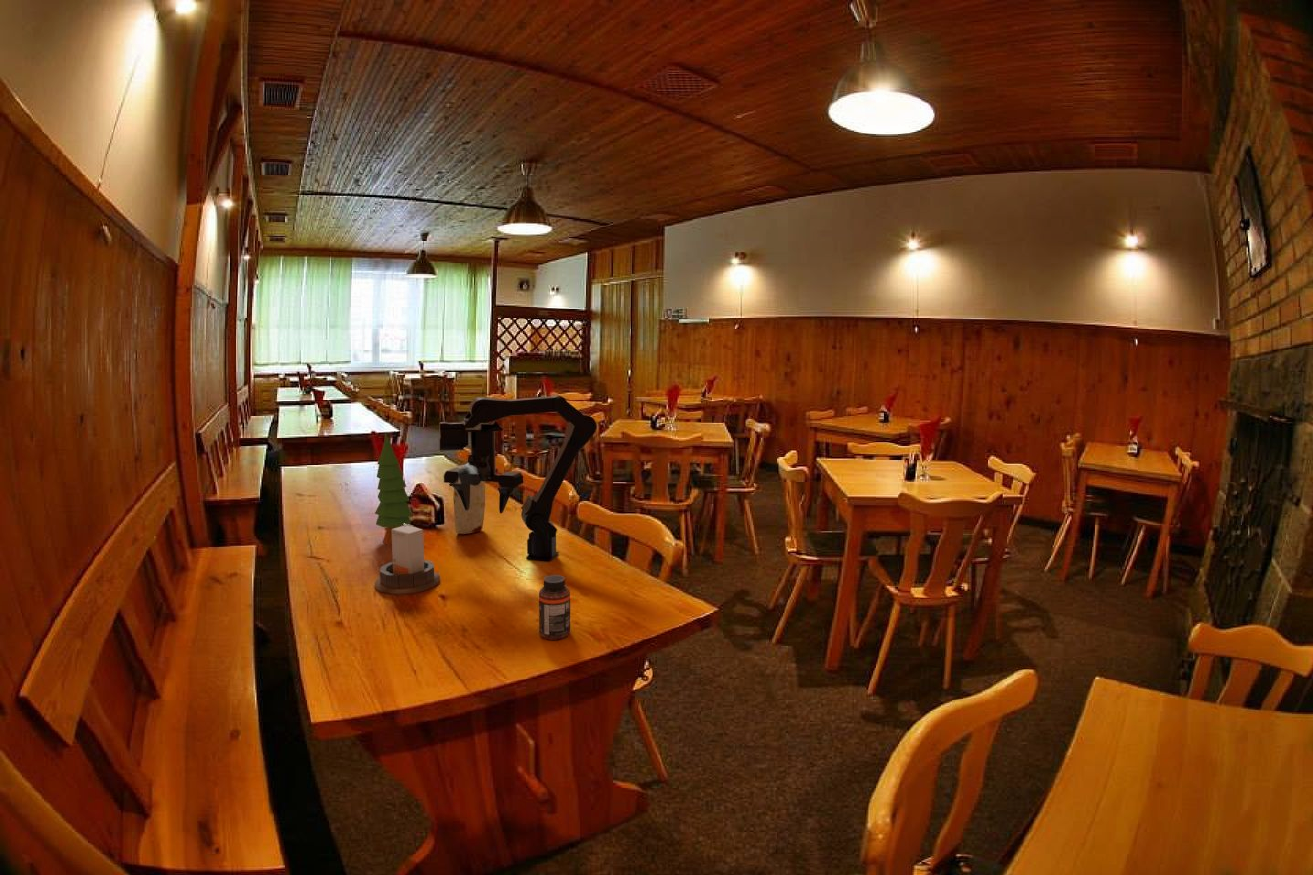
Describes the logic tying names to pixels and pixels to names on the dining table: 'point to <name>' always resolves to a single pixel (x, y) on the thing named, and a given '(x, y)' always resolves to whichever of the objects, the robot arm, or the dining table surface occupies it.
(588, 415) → the robot arm
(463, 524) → the food model
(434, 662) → the dining table surface
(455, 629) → the dining table surface
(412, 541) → the skincare box
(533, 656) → the dining table surface
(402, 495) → the decorative tree
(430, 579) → the stone fire pit
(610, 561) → the dining table surface
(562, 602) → the supplement bottle
